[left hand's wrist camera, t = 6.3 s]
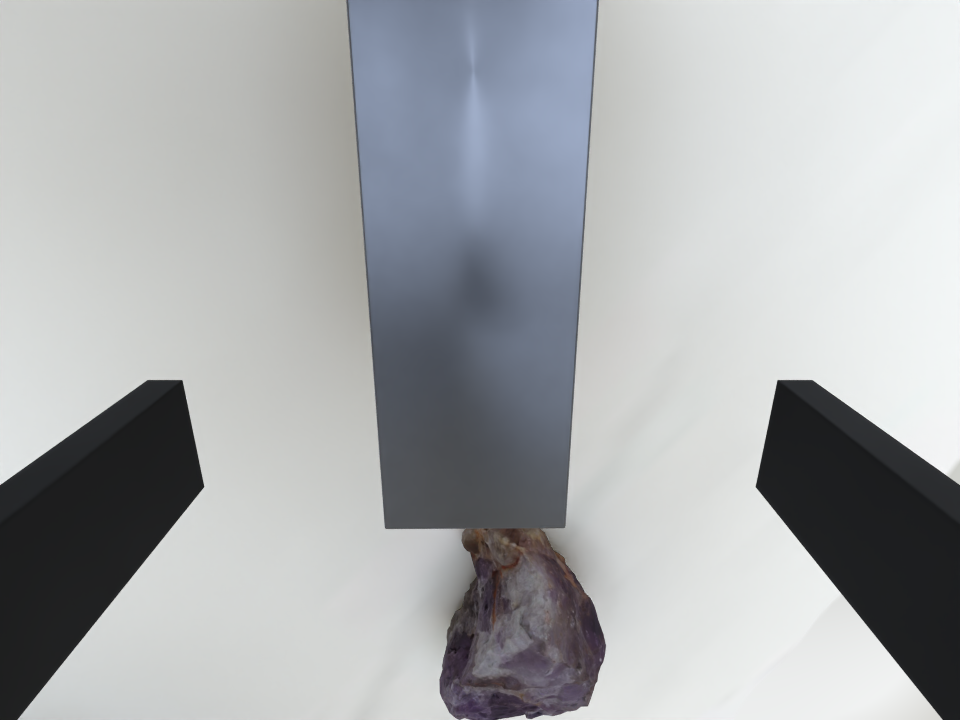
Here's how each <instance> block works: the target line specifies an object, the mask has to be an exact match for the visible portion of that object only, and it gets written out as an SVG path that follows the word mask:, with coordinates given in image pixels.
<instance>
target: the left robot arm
mask: <svg viewBox="0 0 960 720" xmlns="http://www.w3.org/2000/svg"><path fill="white" fill-rule="evenodd" d="M203 488H204V483H203V478H202V474H201V469H200V464H199V459H198V454H197V449H196V444H195V439H194V435H193V430H192V425H191V420H190V415H189V410H188V405H187V400H186V395H185V391H184V386H183V381H182V380H147V381H146V382H144V383H143V384H142V385H140V386H139V387H137V388H136V389H135V390H133V391H132V392H130V393H129V394H128V395H126V396H125V397H123V398H122V399H121V400H119V401H118V402H116V403H115V404H114V405H112V406H111V407H109V408H108V409H107V410H105V411H104V412H102V413H101V414H100V415H98V416H97V417H95V418H94V419H92V420H91V421H90V422H88V423H87V424H85V425H84V426H83V427H81V428H80V429H78V430H77V431H76V432H74V433H73V434H71V435H70V436H69V437H67V438H66V439H64V440H63V441H62V442H60V443H59V444H57V445H56V446H55V447H53V448H52V449H50V450H49V451H48V452H46V453H45V454H43V455H42V456H40V457H39V458H38V459H36V460H35V461H33V462H32V463H31V464H29V465H28V466H26V467H25V468H24V469H22V470H21V471H19V472H18V473H17V474H15V475H14V476H12V477H11V478H10V479H8V480H7V481H5V482H4V483H3V484H1V485H0V720H17V719H18V718H19V717H20V716H21V714H22V713H23V712H24V711H25V709H26V708H27V707H28V706H29V704H30V703H31V702H32V701H33V699H34V698H35V697H36V696H37V694H38V693H39V692H40V691H41V689H42V688H43V687H44V686H45V685H46V683H47V682H48V681H49V680H50V678H51V677H52V676H53V675H54V673H55V672H56V671H57V670H58V668H59V667H60V666H61V665H62V663H63V662H64V661H65V660H66V658H67V657H68V656H69V655H70V653H71V652H72V651H73V650H74V648H75V647H76V646H77V645H78V643H79V642H80V641H81V640H82V638H83V637H84V636H85V635H86V633H87V632H88V631H89V630H90V629H91V627H92V626H93V625H94V624H95V622H96V621H97V620H98V619H99V617H100V616H101V615H102V614H103V612H104V611H105V610H106V609H107V607H108V606H109V605H110V604H111V602H112V601H113V600H114V599H115V597H116V596H117V595H118V594H119V592H120V591H121V590H122V589H123V587H124V586H125V585H126V584H127V582H128V581H129V580H130V579H131V577H132V576H133V575H134V574H135V572H136V571H137V570H138V569H139V568H140V566H141V565H142V564H143V563H144V561H145V560H146V559H147V558H148V556H149V555H150V554H151V553H152V551H153V550H154V549H155V548H156V546H157V545H158V544H159V543H160V541H161V540H162V539H163V538H164V536H165V535H166V534H167V533H168V531H169V530H170V529H171V528H172V526H173V525H174V524H175V523H176V521H177V520H178V519H179V518H180V516H181V515H182V514H183V513H184V511H185V510H186V509H187V508H188V507H189V505H190V504H191V503H192V502H193V500H194V499H195V498H196V497H197V495H198V494H199V493H200V492H201V490H202V489H203ZM756 488H757V489H758V490H759V492H760V493H761V494H762V495H763V497H764V498H765V499H766V500H767V502H768V503H769V504H770V505H771V507H772V508H773V509H774V510H775V511H776V513H777V514H778V515H779V516H780V518H781V519H782V520H783V521H784V523H785V524H786V525H787V526H788V528H789V529H790V530H791V531H792V533H793V534H794V535H795V536H796V538H797V539H798V540H799V541H800V543H801V544H802V545H803V546H804V548H805V549H806V550H807V551H808V553H809V554H810V555H811V556H812V558H813V559H814V560H815V561H816V563H817V564H818V565H819V566H820V568H821V569H822V570H823V571H824V572H825V574H826V575H827V576H828V577H829V579H830V580H831V581H832V582H833V584H834V585H835V586H836V587H837V589H838V590H839V591H840V592H841V594H842V595H843V596H844V597H845V599H846V600H847V601H848V602H849V604H850V605H851V606H852V607H853V609H854V610H855V611H856V612H857V614H858V615H859V616H860V617H861V619H862V620H863V621H864V622H865V624H866V625H867V626H868V627H869V628H870V630H871V631H872V632H873V633H874V635H875V636H876V637H877V638H878V640H879V641H880V642H881V643H882V645H883V646H884V647H885V648H886V650H887V651H888V652H889V653H890V655H891V656H892V657H893V658H894V660H895V661H896V662H897V663H898V664H899V666H900V667H901V668H902V670H903V671H904V672H905V673H906V675H907V676H908V677H909V678H910V679H911V681H912V682H913V683H914V685H915V686H916V687H917V688H918V689H919V691H920V692H921V693H922V694H923V696H924V697H925V698H926V699H927V701H928V702H929V703H930V704H931V706H932V707H933V708H934V709H935V711H936V712H937V713H938V714H939V716H940V717H941V718H942V719H943V720H960V485H959V484H957V483H956V482H955V481H953V480H952V479H950V478H949V477H948V476H946V475H945V474H943V473H942V472H941V471H939V470H938V469H936V468H935V467H934V466H932V465H931V464H929V463H928V462H927V461H925V460H924V459H922V458H921V457H920V456H918V455H917V454H915V453H914V452H912V451H911V450H910V449H908V448H907V447H905V446H904V445H903V444H901V443H900V442H898V441H897V440H896V439H894V438H893V437H891V436H890V435H889V434H887V433H886V432H884V431H883V430H882V429H880V428H879V427H877V426H876V425H875V424H873V423H872V422H870V421H869V420H868V419H866V418H865V417H863V416H862V415H860V414H859V413H858V412H856V411H855V410H853V409H852V408H851V407H849V406H848V405H846V404H845V403H844V402H842V401H841V400H839V399H838V398H837V397H835V396H834V395H832V394H831V393H830V392H828V391H827V390H825V389H824V388H823V387H821V386H820V385H818V384H817V383H816V382H814V381H813V380H778V381H777V386H776V391H775V395H774V400H773V405H772V410H771V415H770V420H769V425H768V430H767V435H766V439H765V444H764V449H763V454H762V459H761V464H760V469H759V474H758V478H757V483H756Z"/></svg>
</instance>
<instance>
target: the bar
mask: <svg viewBox="0 0 960 720" xmlns="http://www.w3.org/2000/svg"><path fill="white" fill-rule="evenodd" d="M346 2H347V16H348V30H349V43H350V57H351V71H352V84H353V98H354V112H355V125H356V139H357V153H358V167H359V180H360V194H361V208H362V221H363V235H364V249H365V262H366V276H367V290H368V303H369V317H370V331H371V344H372V358H373V372H374V385H375V399H376V413H377V426H378V440H379V454H380V468H381V481H382V495H383V509H384V522H385V528H386V529H462V528H565V524H566V508H567V493H568V477H569V461H570V446H571V430H572V414H573V399H574V383H575V367H576V351H577V336H578V320H579V304H580V289H581V273H582V257H583V241H584V226H585V210H586V194H587V179H588V163H589V147H590V131H591V116H592V100H593V84H594V69H595V53H596V37H597V21H598V6H599V0H346Z"/></svg>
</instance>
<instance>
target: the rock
mask: <svg viewBox="0 0 960 720" xmlns="http://www.w3.org/2000/svg"><path fill="white" fill-rule="evenodd" d="M462 543H463V546H464V548H465V549H466V550H467V551H469V552H470V553H471V557H472V560H473V564H474V567H475V571H476V574H477V578H476V579H475V580H474V581H473V582H472V583H471V584H470V590H468V591H467V592H466V593H465V598H464V603H463V607H462V608H461V609H459V610H457V611H456V612H455V614H454V616H453V618H452V620H451V625H450V627H449V628H448V631H447V647H446V651H445V655H444V658H443V665H442V667H443V670H442V674H441V677H440V694H441V697H442V699H443V701H444V703H445V705H446V706H447V708H448V710H449V713H450V714H452V715H453V716H454V717H455V718H457V719H459V720H461V719H463V718H467V719H470V720H498V719H503V718H509V717H515V716H521V715H524V714H525V715H526V718H528V719H533V718H535V717H538V716H541V715H549V716H555V715H559V714H562V713H564V712H567V711H574V710H577V709H578V708H580V707H582V706H588V704H589V702H590V699H591V696H592V693H593V690H594V686H595V684H596V682H597V679H598V673H599V670H600V666H601V665H602V663H603V661H604V656H605V649H606V644H605V640H604V635H603V632H602V629H601V626H600V624H599V621H598V617H597V613H596V610H595V607H594V604H593V602H592V600H591V598H590V597H589V596H588V595H587V594H586V593H585V592H584V590H583V588H582V586H581V585H580V583H579V582H578V580H577V579H576V576H575V574H574V573H573V572H572V571H571V570H570V569H569V568H568V566H567V565H566V564H565V558H564V557H563V556H561V555H560V554H559V553H557V552H555V551H553V549H552V548H551V545H550V543H549V541H548V539H547V537H546V534H545V533H544V532H543V531H542V530H541V529H540V528H466V529H465V530H464V532H463V534H462Z"/></svg>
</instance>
